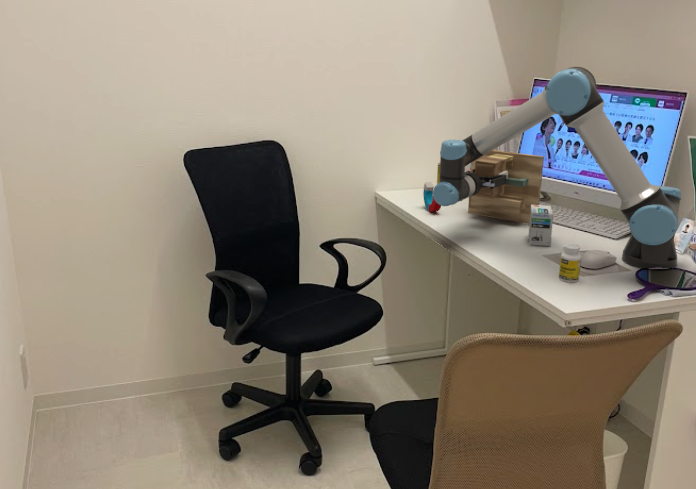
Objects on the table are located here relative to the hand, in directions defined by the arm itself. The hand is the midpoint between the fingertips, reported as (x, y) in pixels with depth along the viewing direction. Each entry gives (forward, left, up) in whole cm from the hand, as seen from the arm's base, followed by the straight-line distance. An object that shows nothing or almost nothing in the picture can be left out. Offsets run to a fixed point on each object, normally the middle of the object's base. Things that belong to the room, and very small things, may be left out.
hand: (496, 173), depth 241 cm
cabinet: (-2, +1, -7) cm, 7 cm away
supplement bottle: (-51, -21, -18) cm, 58 cm away
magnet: (+11, +22, -18) cm, 31 cm away
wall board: (+6, -3, -18) cm, 19 cm away
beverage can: (+40, +18, -18) cm, 48 cm away
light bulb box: (-17, -15, -18) cm, 29 cm away
